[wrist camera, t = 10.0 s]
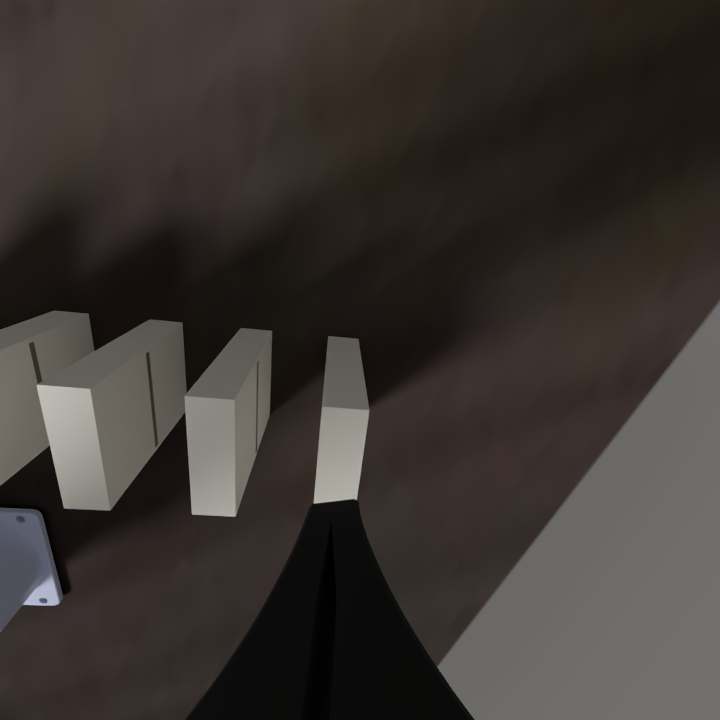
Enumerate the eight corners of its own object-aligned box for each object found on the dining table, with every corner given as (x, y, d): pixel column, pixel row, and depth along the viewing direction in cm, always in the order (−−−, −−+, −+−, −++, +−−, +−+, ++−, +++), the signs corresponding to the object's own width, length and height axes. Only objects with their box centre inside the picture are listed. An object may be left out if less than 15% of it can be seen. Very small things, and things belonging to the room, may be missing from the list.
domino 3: (240, 412, 21) (191, 514, 14) (240, 327, 19) (183, 396, 12) (270, 414, 21) (236, 516, 14) (272, 330, 19) (235, 400, 12)
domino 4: (320, 418, 21) (311, 520, 14) (327, 336, 20) (322, 406, 13) (348, 420, 22) (353, 522, 15) (358, 338, 20) (369, 410, 13)
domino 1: (70, 400, 20) (-73, 501, 13) (53, 310, 18) (-124, 372, 11) (102, 402, 20) (-23, 504, 13) (88, 313, 19) (-64, 377, 11)
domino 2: (157, 406, 21) (63, 508, 14) (149, 319, 19) (35, 384, 12) (188, 408, 21) (110, 510, 14) (182, 322, 19) (90, 388, 12)
